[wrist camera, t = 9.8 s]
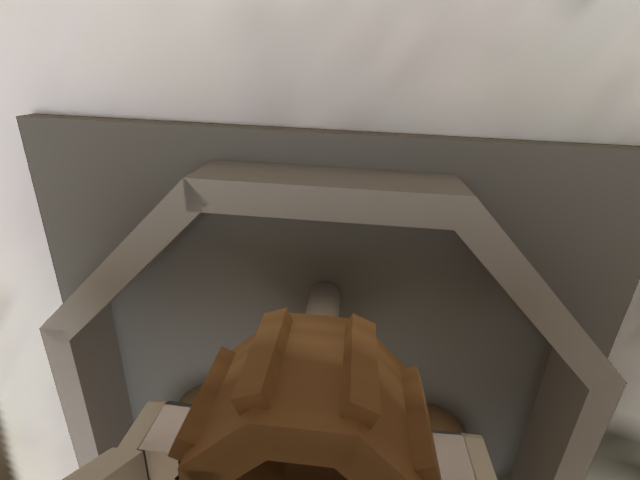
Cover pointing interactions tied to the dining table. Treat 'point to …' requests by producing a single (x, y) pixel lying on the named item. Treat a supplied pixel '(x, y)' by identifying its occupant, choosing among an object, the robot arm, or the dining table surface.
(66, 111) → the dining table surface
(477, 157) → the grey octagonal tray
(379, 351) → the planet gear
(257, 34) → the dining table surface
